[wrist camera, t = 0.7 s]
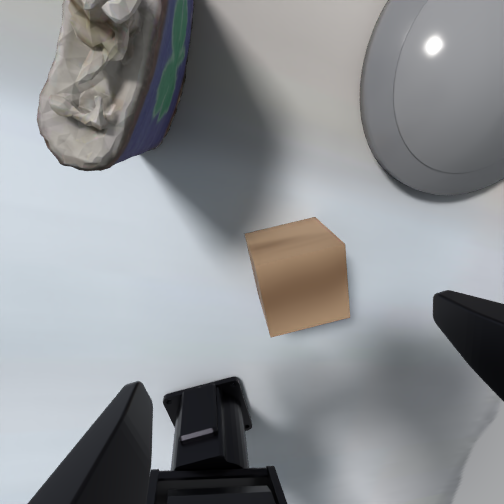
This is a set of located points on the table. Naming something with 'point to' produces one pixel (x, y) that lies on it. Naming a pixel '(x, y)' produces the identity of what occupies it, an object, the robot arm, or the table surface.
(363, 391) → the table surface
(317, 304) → the walnut cube
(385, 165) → the slate plate
